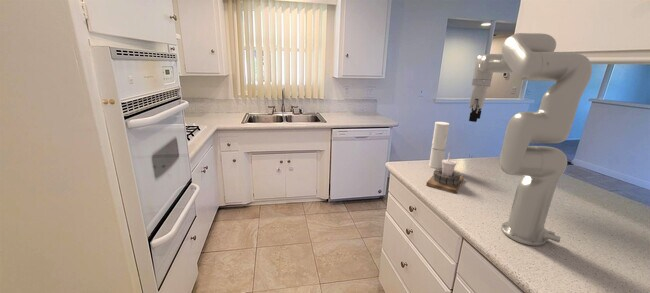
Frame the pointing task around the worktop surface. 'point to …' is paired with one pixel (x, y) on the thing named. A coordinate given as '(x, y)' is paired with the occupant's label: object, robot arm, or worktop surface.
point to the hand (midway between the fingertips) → (474, 119)
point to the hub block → (445, 181)
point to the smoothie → (448, 166)
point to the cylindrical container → (438, 144)
